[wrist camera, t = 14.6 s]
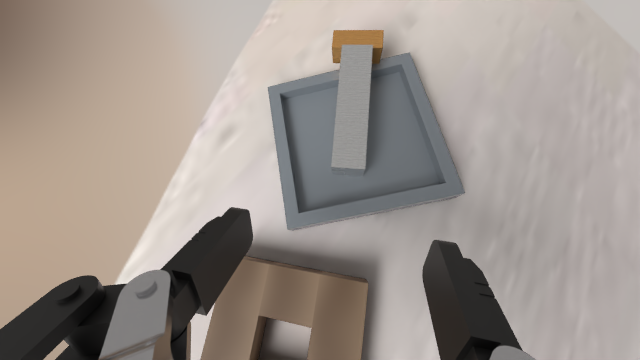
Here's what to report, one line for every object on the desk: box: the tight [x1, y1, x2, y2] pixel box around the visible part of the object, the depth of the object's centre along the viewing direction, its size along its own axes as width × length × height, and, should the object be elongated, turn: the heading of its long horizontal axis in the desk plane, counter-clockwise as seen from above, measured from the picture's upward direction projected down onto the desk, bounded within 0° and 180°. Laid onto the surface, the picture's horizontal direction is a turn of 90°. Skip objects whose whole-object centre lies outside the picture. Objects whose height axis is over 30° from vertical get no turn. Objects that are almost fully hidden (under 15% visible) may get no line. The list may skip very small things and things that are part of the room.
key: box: [331, 30, 384, 176], centre depth 18 cm, size 4×2×12 cm
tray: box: [268, 52, 465, 231], centre depth 19 cm, size 13×13×2 cm
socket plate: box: [200, 256, 368, 360], centre depth 15 cm, size 10×10×2 cm
